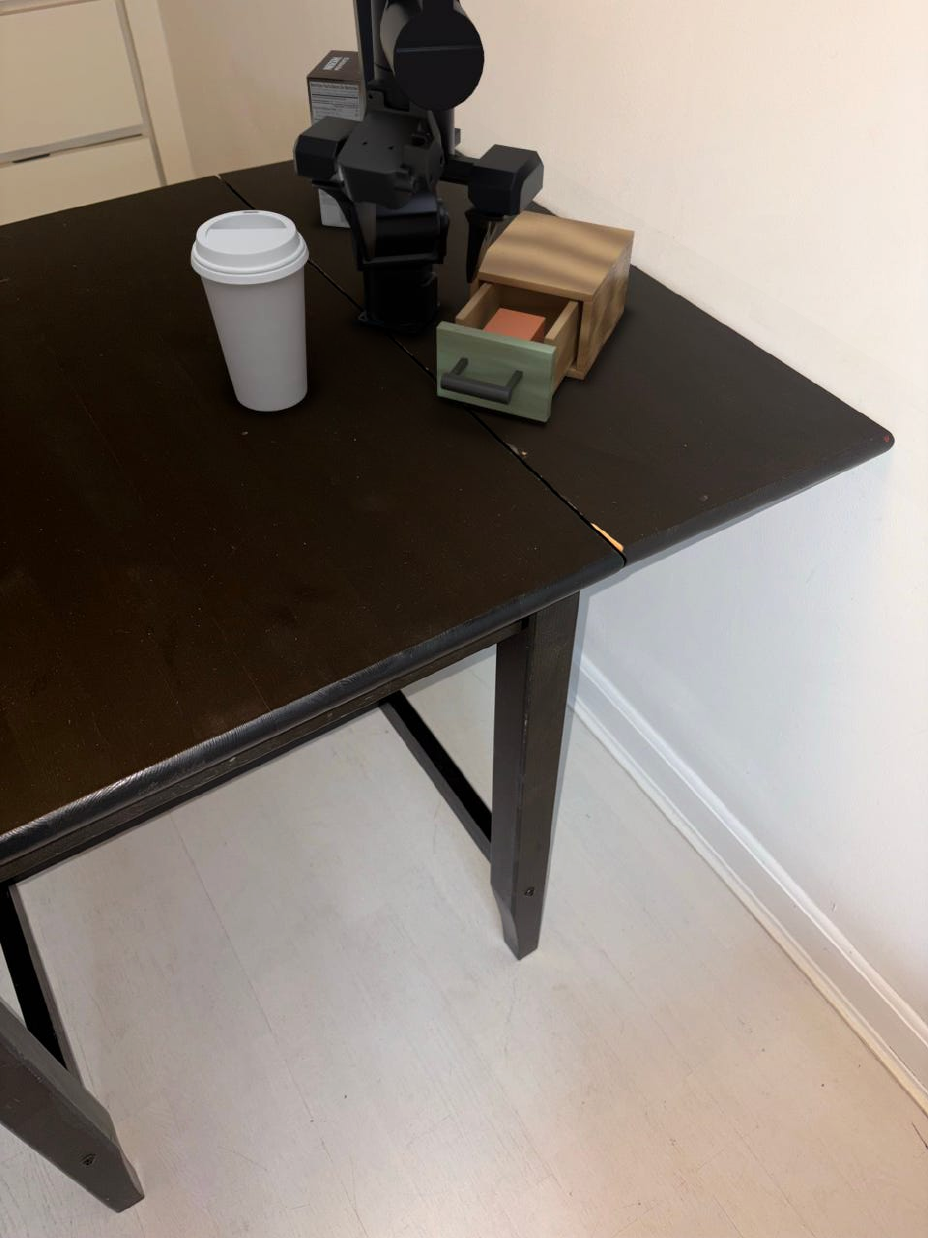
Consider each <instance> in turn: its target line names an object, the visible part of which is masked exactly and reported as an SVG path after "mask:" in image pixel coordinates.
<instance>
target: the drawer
mask: <svg viewBox="0 0 928 1238" xmlns="http://www.w3.org/2000/svg"><path fill="white" fill-rule="evenodd" d="M583 302H584V301H580V300H576V299H571V298H566V297H561V296H557V295H552V294H547V293H542V292H537V291H533V290H528V289H523V288H518V287H514V286H509V285H504V284H499V283H494V282H490V281H485V283H484V284H483V285H482V286H481V287H480V289H479V290H478V291H477V292H476V293H475V295H474V296H473V297H472V298H471V299H470V298H469V300H468V302H467V303H466V304H465V305H464V307H463V308H462V309H461V310H460V311H459V313H458V314H457V315H456V316H455V323H452V322H449V321H443V320H441V321H440V322H439V324H438V325H437V326H436V329H435V330H436V395H437V396H438V397H442V398H446V399H450V400H453V401H457V402H462V403H465V404H471V405H474V406H478V407H483V408H487V409H490V410H495V411H499V412H503V413H507V414H511V415H515V416H519V417H523V418H527V419H531V420H534V421H539V422H542V423H543V422H544V423H547V421H548V420H549V418H550V416H551V411H552V402H553V401H552V399H553V395H554V394H555V392H556V391H557V389H558V387H559V385H560V384H561V383H562V381H563V379H564V377H566V376H565V374H566V373H567V371H568V370H569V368H570V366H571V365H572V363H573V362H574V360H575V358H576V357H577V355H578V348H579V338H580V329H581V320H582V311H583ZM499 308H503V309H507V310H512V311H517V312H521V313H526V314H531V315H535V316H540V317H545V332H544V344H542V343H537V342H533V341H529V340H524V339H520V338H515V337H511V336H506V335H502V334H497V333H493V332H488V331H484V330H483V329H484V328H485V326H486V325H487V324H488V323H489V321H490V320H491V319H492V317H493V316H494V315H495V314H496V312H497V311H498V310H499Z"/></svg>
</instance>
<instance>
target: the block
mask: <svg viewBox="0 0 928 1238" xmlns="http://www.w3.org/2000/svg"><path fill="white" fill-rule="evenodd" d="M483 330H484V331H488V332H493V333H497V334H502V335H506V336H511V337H515V338H520V339H524V340H529V341H533V342H537V343H542V344H544V332H545V317H540V316H535V315H531V314H526V313H521V312H517V311H512V310H507V309H503V308H499V310H498V311H497V312H496V314H495V315H494V316H493V317H492V319H491V320H490V321H489V323H488V324H487V325H486V326H485V328H484V329H483Z"/></svg>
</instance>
